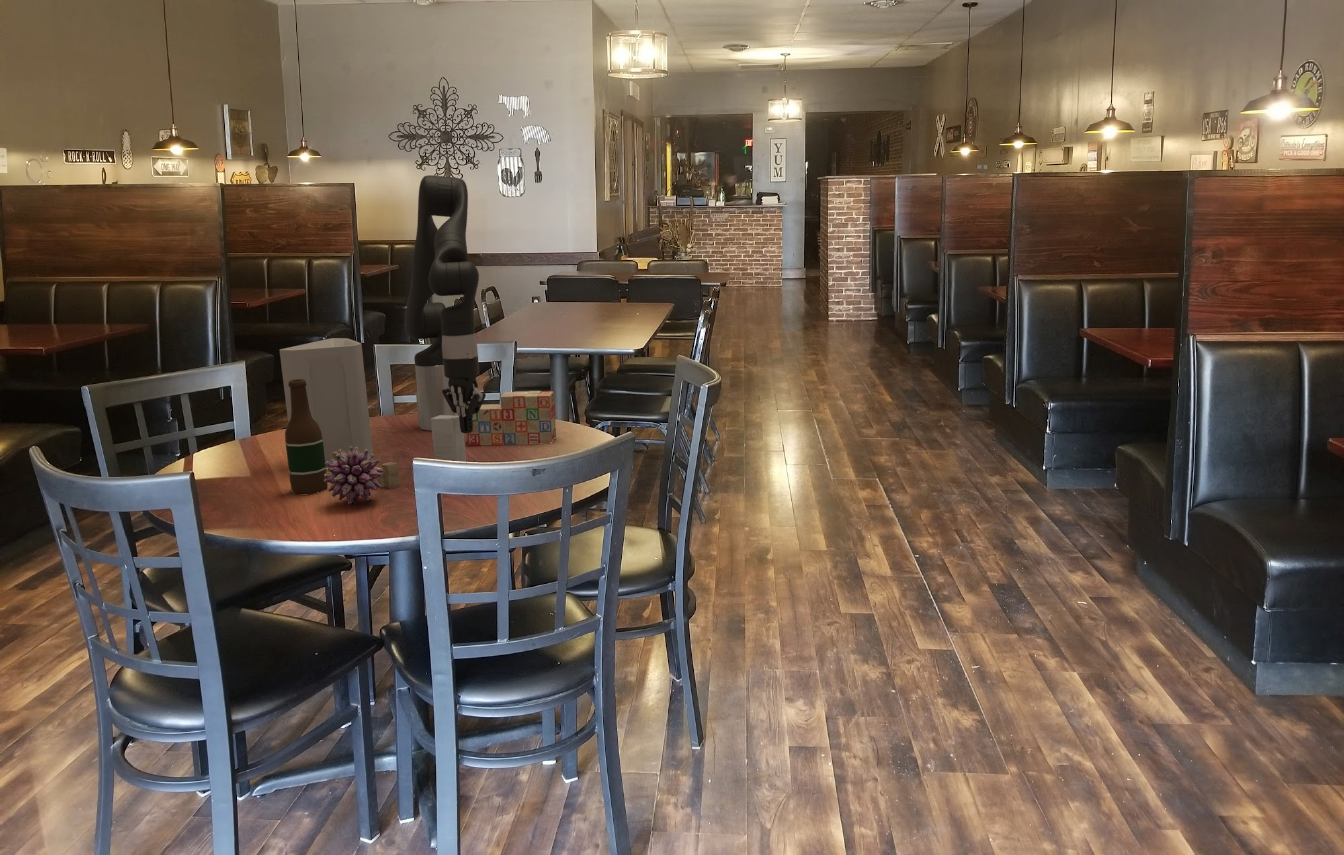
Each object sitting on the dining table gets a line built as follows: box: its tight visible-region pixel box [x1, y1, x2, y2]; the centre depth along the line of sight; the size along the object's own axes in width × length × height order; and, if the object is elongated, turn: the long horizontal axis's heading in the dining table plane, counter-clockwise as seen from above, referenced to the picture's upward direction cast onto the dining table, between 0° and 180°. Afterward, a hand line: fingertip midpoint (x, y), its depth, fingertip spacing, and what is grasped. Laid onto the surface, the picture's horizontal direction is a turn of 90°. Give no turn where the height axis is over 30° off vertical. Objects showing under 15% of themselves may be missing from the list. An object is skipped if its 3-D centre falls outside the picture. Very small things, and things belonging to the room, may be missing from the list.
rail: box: [332, 451, 401, 489], centre depth 242 cm, size 22×2×5 cm, turn 48°
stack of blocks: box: [466, 390, 557, 446], centre depth 272 cm, size 21×6×12 cm, turn 86°
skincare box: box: [431, 415, 467, 462], centre depth 248 cm, size 6×4×12 cm
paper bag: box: [279, 337, 374, 468], centre depth 258 cm, size 19×15×28 cm
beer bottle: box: [284, 379, 329, 495], centre depth 233 cm, size 8×8×24 cm
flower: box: [324, 447, 383, 505], centre depth 223 cm, size 12×12×12 cm
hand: (466, 432), depth 243 cm, fingers closed
